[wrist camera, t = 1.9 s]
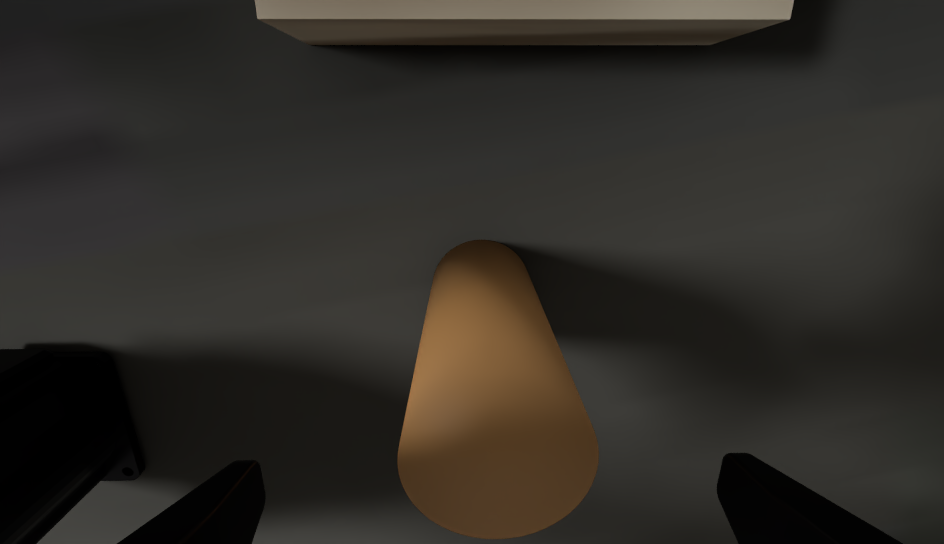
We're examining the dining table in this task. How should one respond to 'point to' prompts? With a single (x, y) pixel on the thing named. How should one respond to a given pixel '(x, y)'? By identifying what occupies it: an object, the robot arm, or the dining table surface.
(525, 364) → the peg
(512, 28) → the socket block
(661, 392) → the dining table surface
